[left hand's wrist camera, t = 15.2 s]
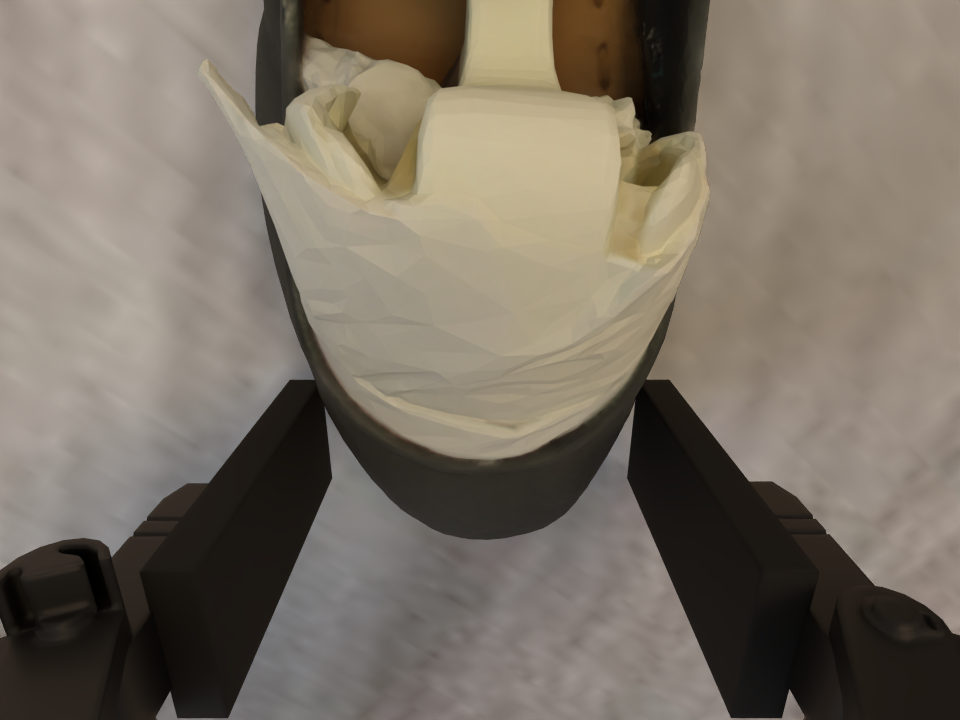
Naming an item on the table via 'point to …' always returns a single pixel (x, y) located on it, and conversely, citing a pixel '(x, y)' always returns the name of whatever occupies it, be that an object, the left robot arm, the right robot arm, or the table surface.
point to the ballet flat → (478, 230)
